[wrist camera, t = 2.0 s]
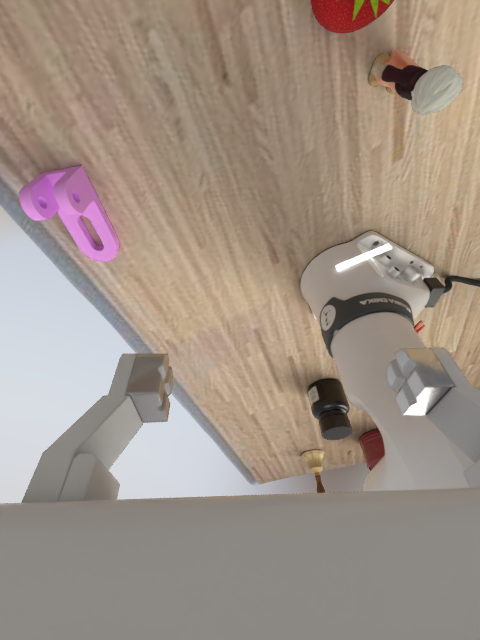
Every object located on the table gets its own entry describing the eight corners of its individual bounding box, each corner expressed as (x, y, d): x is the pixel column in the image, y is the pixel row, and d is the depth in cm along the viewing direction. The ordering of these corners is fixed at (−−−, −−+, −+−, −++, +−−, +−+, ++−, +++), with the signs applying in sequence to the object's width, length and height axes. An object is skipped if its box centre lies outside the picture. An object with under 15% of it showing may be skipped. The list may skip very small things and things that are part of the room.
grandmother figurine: (427, 54, 32) (509, 67, 23) (408, 99, 34) (474, 126, 25) (358, 41, 31) (415, 49, 22) (344, 88, 33) (390, 113, 24)
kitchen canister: (371, 447, 105) (391, 504, 93) (350, 437, 99) (369, 498, 86) (406, 434, 99) (433, 494, 86) (387, 423, 92) (413, 485, 80)
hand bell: (329, 453, 107) (341, 504, 96) (310, 460, 111) (320, 509, 100) (315, 447, 103) (327, 499, 92) (296, 454, 107) (305, 506, 96)
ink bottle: (302, 382, 74) (313, 429, 66) (338, 373, 72) (354, 420, 64) (311, 400, 81) (322, 445, 72) (344, 393, 79) (359, 437, 70)
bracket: (40, 173, 38) (13, 195, 33) (82, 165, 38) (61, 186, 33) (91, 259, 47) (76, 286, 42) (125, 253, 47) (114, 280, 42)
